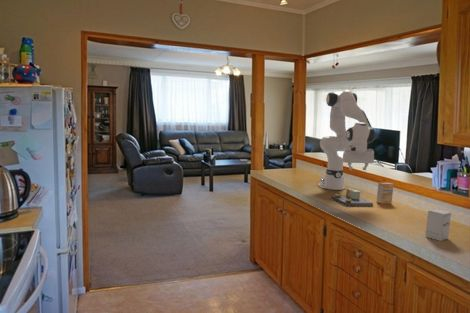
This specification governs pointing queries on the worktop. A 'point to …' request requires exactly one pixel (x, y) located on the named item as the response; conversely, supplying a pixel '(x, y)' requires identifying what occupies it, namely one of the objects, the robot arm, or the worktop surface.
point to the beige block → (348, 193)
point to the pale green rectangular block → (355, 194)
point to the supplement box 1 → (385, 193)
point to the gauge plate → (353, 203)
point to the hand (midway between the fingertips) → (357, 170)
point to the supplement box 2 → (438, 224)
